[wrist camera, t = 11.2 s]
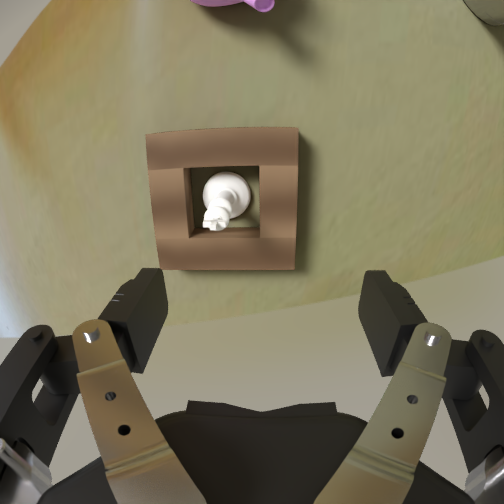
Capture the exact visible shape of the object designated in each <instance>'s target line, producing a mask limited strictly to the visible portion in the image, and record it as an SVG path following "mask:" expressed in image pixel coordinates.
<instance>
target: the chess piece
mask: <svg viewBox="0 0 504 504" xmlns="http://www.w3.org/2000/svg"><path fill="white" fill-rule="evenodd" d="M250 198H251V193H250V188H249V186H248V184H247V182H246V181H245V180H244V179H243V178H242V177H241V176H240V175H238V174H236V173H233V172H220V173H217V174H215V175H213V176H212V177H211V178H210V179H209V180H208V181H207V182H206V184H205V186H204V189H203V201H204V204H205V206H206V208H207V211H206V212H205V215H204V221H203V227H208V228H210V230H214V231H220V230H223V229H224V228H226V227H227V225H228V223H229V219H231V218H235V217H237V216H239V215H240V214H242V213H243V212H244V211H245V209H246V208H247V207H248V205H249V202H250Z"/></svg>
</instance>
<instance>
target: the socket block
mask: <svg viewBox="0 0 504 504" xmlns="http://www.w3.org/2000/svg"><path fill="white" fill-rule="evenodd" d="M146 149H147V163H148V175H149V186H150V195H151V205H152V213H153V222H154V229H155V237H156V244H157V251H158V258H159V264H160V269H162V270H294V268H295V248H296V224H297V192H298V128H295V127H237V128H212V129H196V130H183V131H171V132H161V133H153V134H146ZM214 166H259V185H260V227H239V228H224V229H223V230H220V231H214V230H210V228H195V226H194V214H193V201H192V186H191V170H190V168H192V167H214Z"/></svg>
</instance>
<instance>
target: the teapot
mask: <svg viewBox="0 0 504 504" xmlns="http://www.w3.org/2000/svg"><path fill="white" fill-rule="evenodd" d="M190 1H192V2H194V3H196V4H199V5H203V6H212V7H214V6H226V5H232V4H236V3H240V2H243V1H244V2H245V3H247V4H249V5H250V6H252V7H253V8H255V9H256V10H258V11H260V12H268V11H270V10H271V9H272V8H273V7H274V4H275V1H274V0H190Z"/></svg>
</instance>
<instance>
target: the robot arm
mask: <svg viewBox="0 0 504 504" xmlns="http://www.w3.org/2000/svg"><path fill="white" fill-rule="evenodd" d="M464 1H465V3H466V4H467V6H468V7H469V8H470V9H471V10H472V11H473V12H474V13H475V14H476V16H478V17H479V18H480V19H481V20H483V21H484V22H486V23H488V24H490V25H494V26H498V25H504V0H464ZM358 311H359V318H360V321H361V324H362V326H363V329H364V331H365V334H366V336H367V339H368V341H369V344H370V346H371V349H372V351H373V354H374V357H375V359H376V362H377V365H378V367H379V370H380V373H381V375H382V377H385V376H393V377H392V380H391V381H390V384H389V385H388V388H387V389H386V391H385V393H384V395H383V397H382V399H381V401H380V403H379V404H378V406H377V408H376V410H375V412H374V413H373V415H372V417H371V419H370V420H369V422H366V421H364V420H362V419H360V418H358V417H355V416H352V415H349V414H345V413H339V412H337V409H336V405H335V402H328V403H309V404H298V405H293V406H289V407H284V408H280V409H275V410H271V411H265V412H259V411H254V410H250V409H246V408H241V407H237V406H233V405H229V404H226V403H215V402H201V401H190V400H188V404H187V409H186V411H179V412H174V413H170V414H167V415H164V416H162V417H160V418H157V419H155V420H154V418H153V417H152V415H151V413H150V411H149V409H148V407H147V405H146V403H145V401H144V399H143V397H142V395H141V393H140V391H139V389H138V387H137V385H136V383H135V381H134V379H133V377H132V375H131V373H132V372H134V373H141V374H142V373H143V372H144V369H145V367H146V364H147V362H148V359H149V357H150V355H151V352H152V350H153V348H154V345H155V343H156V340H157V338H158V336H159V333H160V331H161V329H162V326H163V324H164V322H165V319H166V317H167V314H168V300H167V294H166V288H165V282H164V276H163V272H162V269H160V268H142V269H141V270H140V272H139V273H138V275H137V276H136V277H135V279H134V280H132V279H131V280H129V281H128V282H126V283H125V284H123V285H122V286H121V287H120V288H119V290H118V291H117V292H116V295H114V296H113V298H112V299H111V301H110V302H109V303H108V305H107V306H106V308H105V309H104V310H103V312H102V313H101V315H100V316H99V318H98V319H94V320H89V321H86V322H84V323H82V324H80V325H79V326H77V327H76V329H75V330H74V331H73V334H72V335H69V336H59V337H55V335H54V333H53V330H52V328H51V327H50V326H48V325H37V326H34V327H32V328H30V329H28V330H27V331H26V332H25V333H24V334H23V335H22V336H21V338H20V339H19V340H18V342H17V343H16V344H15V346H14V347H13V348H12V350H11V351H10V353H9V354H8V355H7V357H6V358H5V359H4V361H3V363H2V364H1V365H0V504H504V344H503V343H502V342H501V340H500V339H499V338H498V337H497V336H496V335H495V334H493V333H491V332H489V331H486V330H476V331H475V332H473V333H472V335H471V337H470V340H469V341H461V340H453V339H451V336H450V334H449V332H448V331H447V330H446V329H445V328H443V327H442V326H439V325H437V324H434V323H428V321H427V320H426V318H425V316H424V315H423V313H422V312H421V310H420V309H419V308H418V306H417V305H416V304H415V302H414V300H413V299H412V298H411V296H410V294H409V293H408V292H407V290H406V289H405V288H404V287H402V286H401V285H400V284H398V283H397V282H393V281H392V280H391V278H390V277H389V275H388V274H387V272H386V271H385V270H369V271H366V273H365V275H364V280H363V285H362V291H361V296H360V301H359V308H358ZM39 378H40V379H41V381H42V383H43V384H44V385H43V386H42V388H41V390H40V392H39V394H38V396H37V398H36V399H35V401H34V403H33V401H32V391H33V389H34V387H35V385H36V384H37V382H38V380H39ZM482 385H483V386H484V388H485V390H486V392H487V394H488V396H489V408H488V410H487V408H486V406H485V404H484V402H483V399H482V397H481V395H480V393H479V389H480V388H481V386H482ZM79 393H81V396H82V399H83V403H84V407H85V410H86V413H87V416H88V420H89V423H90V426H91V429H92V432H93V435H94V438H95V441H96V444H97V447H98V449H99V452H100V455H101V456H100V457H99V458H97V459H96V460H94V461H93V462H91V463H89V464H88V465H86V466H85V467H83V468H82V469H80V470H78V471H77V472H75V473H74V474H72V475H70V476H69V477H67V478H65V479H64V480H62V481H60V482H59V483H57V484H55V485H52V484H51V482H52V477H51V472H50V470H49V465H50V462H51V460H52V457H53V454H54V452H55V449H56V447H57V444H58V442H59V439H60V436H61V434H62V431H63V429H64V427H65V424H66V422H67V419H68V417H69V415H70V412H71V410H72V408H73V406H74V403H75V401H76V399H77V396H78V394H79ZM441 398H443V400H444V403H445V405H446V408H447V410H448V413H449V415H450V418H451V421H452V424H453V426H454V429H455V432H456V435H457V438H458V441H459V444H460V447H461V450H462V453H463V456H464V459H465V463H466V466H467V469H468V473H469V475H468V477H467V479H466V483H465V490H464V491H463V490H461V489H460V488H458V487H457V486H455V485H454V484H452V483H451V482H449V481H448V480H446V479H445V478H444V477H442V476H440V475H439V474H438V473H436V472H435V471H433V470H432V469H431V468H429V467H428V466H426V465H425V464H424V463H422V462H421V461H419V459H420V457H421V454H422V452H423V449H424V447H425V445H426V442H427V439H428V437H429V434H430V431H431V428H432V426H433V423H434V420H435V417H436V414H437V411H438V407H439V404H440V401H441Z"/></svg>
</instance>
